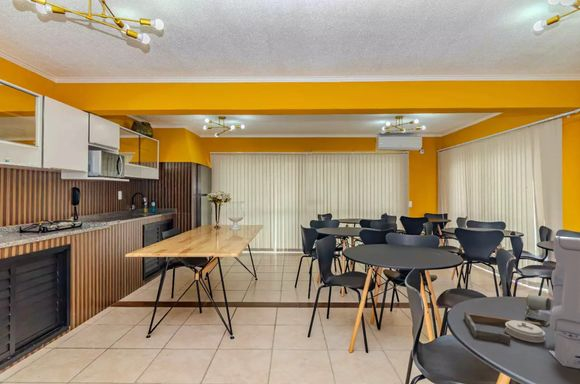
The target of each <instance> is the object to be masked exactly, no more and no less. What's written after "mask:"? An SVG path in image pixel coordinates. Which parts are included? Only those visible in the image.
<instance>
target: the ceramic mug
mask: <svg viewBox="0 0 580 384" xmlns="http://www.w3.org/2000/svg"><path fill="white" fill-rule="evenodd" d="M525 303H526V307H527V309H526V310H528V309H531V310H533V311H535V312H536V313H537V312H539V310H542V311H551V309H552V301H551V298H549V297H547V296H542V295H537V294H528V295H527V297H526V300H525Z"/></svg>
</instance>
